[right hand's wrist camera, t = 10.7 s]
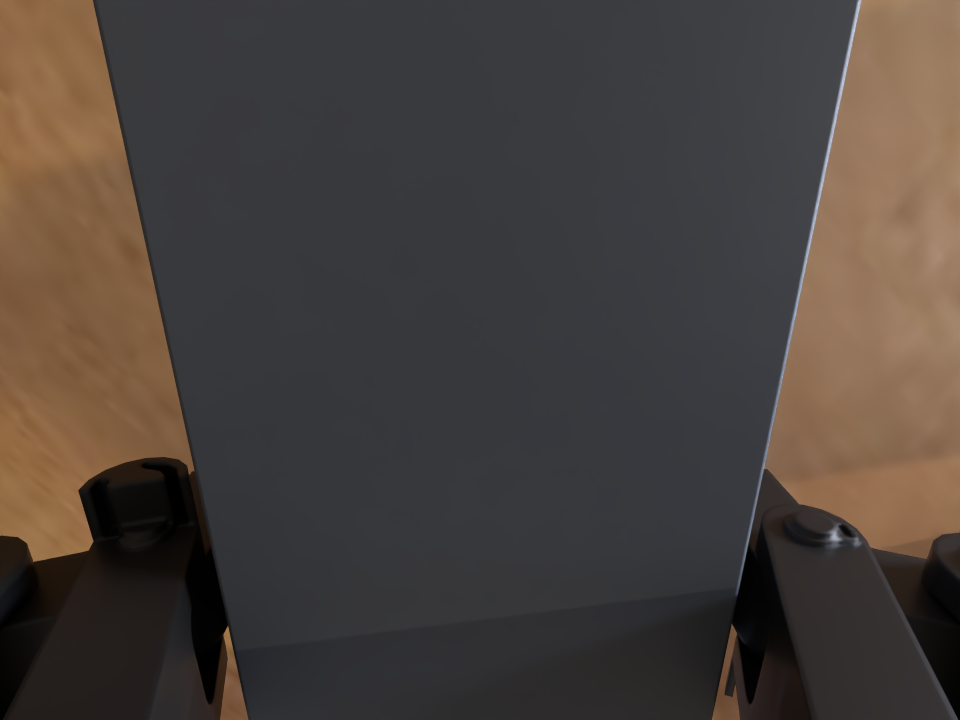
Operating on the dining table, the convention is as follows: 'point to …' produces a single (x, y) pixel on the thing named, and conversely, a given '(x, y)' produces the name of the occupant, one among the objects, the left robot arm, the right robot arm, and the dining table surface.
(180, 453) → the dining table surface
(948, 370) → the dining table surface
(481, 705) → the beam
